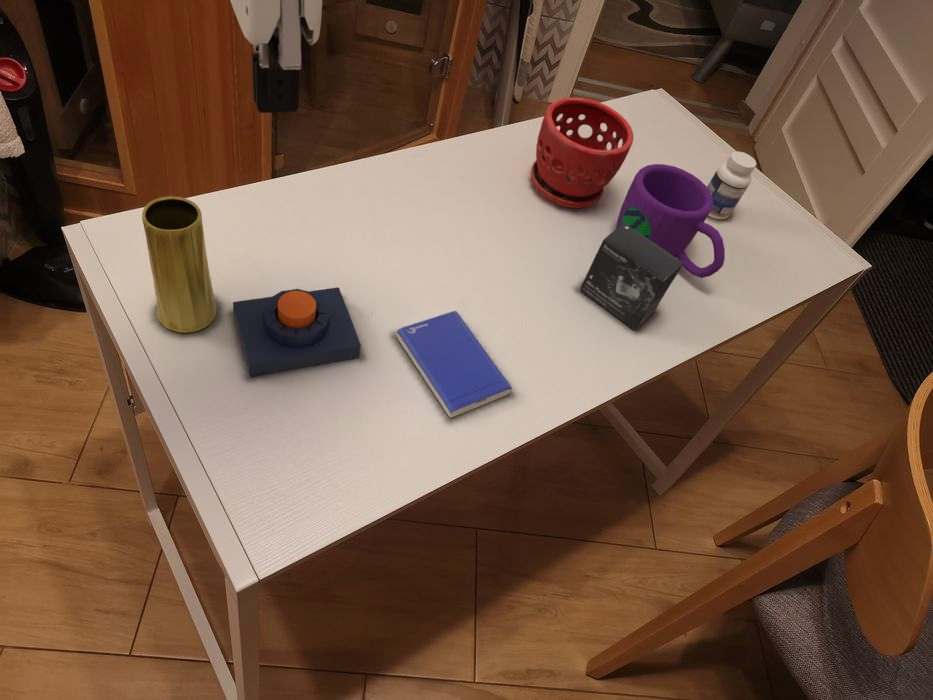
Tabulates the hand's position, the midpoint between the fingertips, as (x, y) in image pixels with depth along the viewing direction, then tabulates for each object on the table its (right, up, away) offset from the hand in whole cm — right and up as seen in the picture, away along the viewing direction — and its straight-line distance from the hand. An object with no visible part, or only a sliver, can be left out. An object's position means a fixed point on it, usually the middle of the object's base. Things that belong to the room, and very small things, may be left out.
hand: (276, 106), depth 54 cm
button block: (-4, -18, +23) cm, 29 cm away
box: (+35, -13, +37) cm, 53 cm away
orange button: (-3, -16, +20) cm, 26 cm away
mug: (+43, -6, +46) cm, 63 cm away
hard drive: (+13, -21, +25) cm, 35 cm away
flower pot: (+30, +5, +51) cm, 60 cm away
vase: (-16, -15, +22) cm, 31 cm away
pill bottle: (+55, +3, +56) cm, 79 cm away
